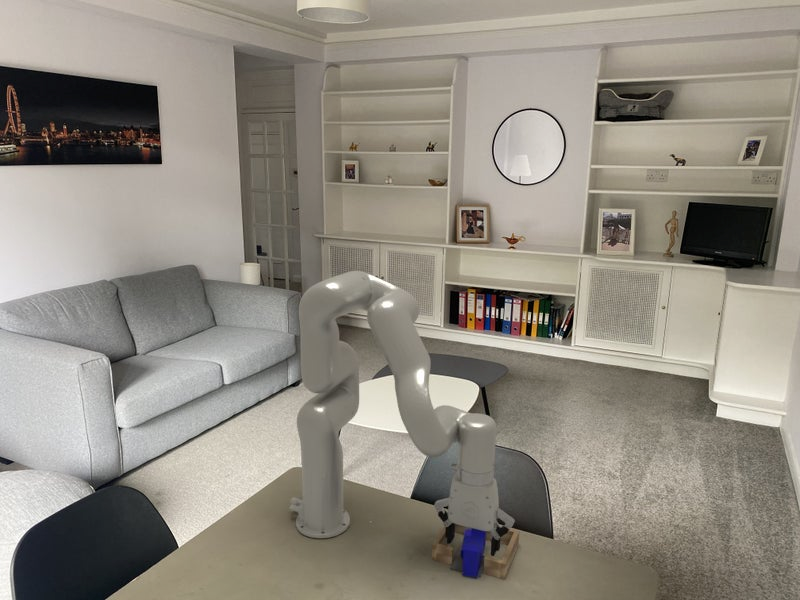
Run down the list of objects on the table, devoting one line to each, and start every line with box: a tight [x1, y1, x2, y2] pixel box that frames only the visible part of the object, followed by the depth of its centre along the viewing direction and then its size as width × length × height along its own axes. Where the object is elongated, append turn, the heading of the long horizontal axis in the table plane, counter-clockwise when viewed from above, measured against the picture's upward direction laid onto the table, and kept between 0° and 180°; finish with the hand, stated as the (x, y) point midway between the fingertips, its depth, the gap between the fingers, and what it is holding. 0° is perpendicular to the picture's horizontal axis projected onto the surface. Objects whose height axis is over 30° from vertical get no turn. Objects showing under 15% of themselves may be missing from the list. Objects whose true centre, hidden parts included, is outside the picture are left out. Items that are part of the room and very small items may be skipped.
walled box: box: [431, 524, 520, 580], centre depth 135 cm, size 16×14×4 cm
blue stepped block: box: [461, 528, 487, 579], centre depth 133 cm, size 12×4×6 cm, turn 164°
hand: (472, 546), depth 132 cm, fingers open, 9 cm apart
